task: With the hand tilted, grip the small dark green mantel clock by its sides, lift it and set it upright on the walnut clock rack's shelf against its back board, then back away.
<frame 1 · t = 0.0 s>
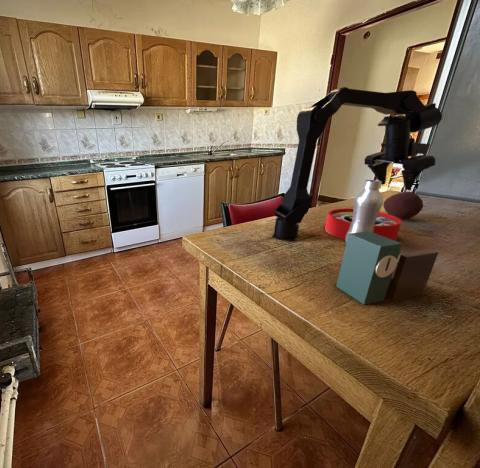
hand: (395, 186, 83), 15 cm above the table, tool pointing down, fingers open, 9 cm apart
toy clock: (358, 233, 88), on the table
silver metal bottle: (356, 248, 77), on the table
potato: (398, 219, 100), on the table
clock rack: (381, 283, 59), on the table
clock: (358, 293, 56), on the table
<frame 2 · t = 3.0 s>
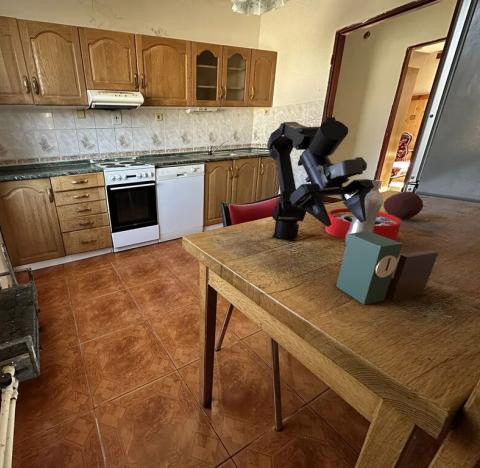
hand: (346, 223, 58), 13 cm above the table, tool tilted 45°, fingers open, 9 cm apart
nothing on the table moved.
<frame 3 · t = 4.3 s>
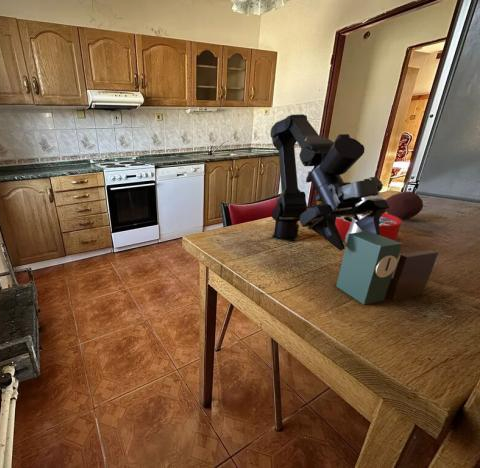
hand: (360, 247, 55), 10 cm above the table, tool tilted 45°, fingers open, 9 cm apart
nothing on the table moved.
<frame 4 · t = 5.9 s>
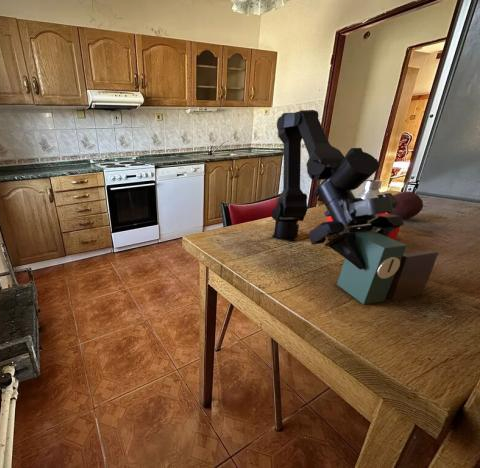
hand: (374, 267, 52), 7 cm above the table, tool tilted 45°, fingers closed on clock, 5 cm apart
clock: (359, 292, 56), on the table, touching gripper
everything else where it was.
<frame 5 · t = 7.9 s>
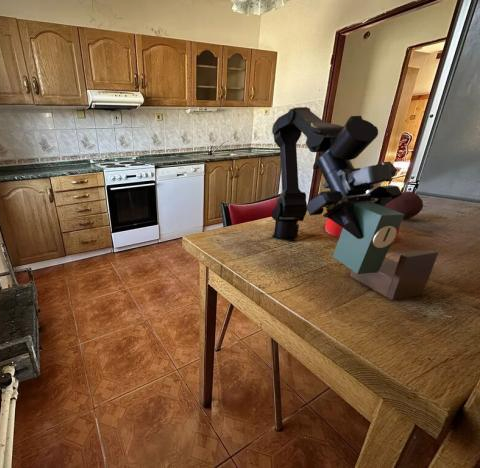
hand: (371, 236, 52), 13 cm above the table, tool tilted 45°, fingers closed on clock, 5 cm apart
clock: (354, 264, 56), point 6 cm above the table, tilted 6°, touching gripper
everything else where it was.
when the fingers open (12 cm above the table, at t = 10.2 s): clock stays where it is, resting on clock rack.
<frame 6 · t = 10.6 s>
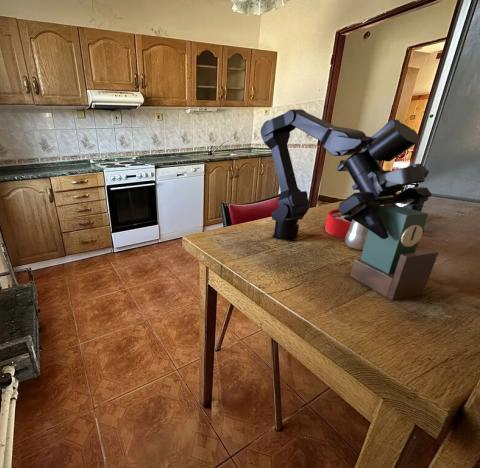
hand: (403, 235, 53), 12 cm above the table, tool tilted 45°, fingers open, 9 cm apart
clock: (383, 265, 58), point 5 cm above the table, touching clock rack
everything else where it was.
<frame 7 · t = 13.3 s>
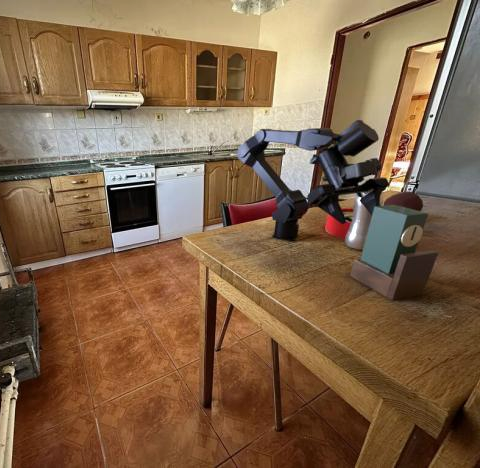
hand: (361, 221, 62), 12 cm above the table, tool tilted 45°, fingers open, 9 cm apart
nothing on the table moved.
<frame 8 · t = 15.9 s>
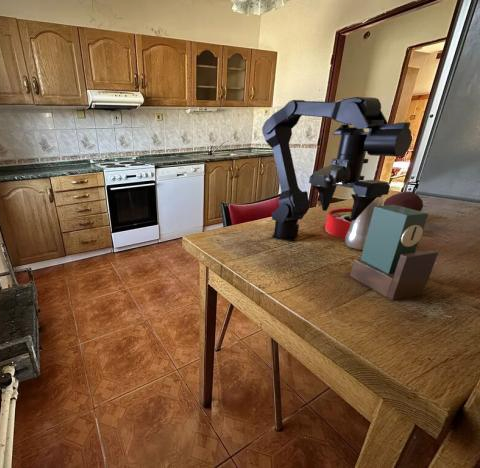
hand: (337, 215, 69), 12 cm above the table, tool pointing down, fingers open, 9 cm apart
nothing on the table moved.
at the end: clock 0.6 cm off-centre on the clock rack, point 4.5 cm above the clock rack's base; clock tilted 0°; the gripper is holding nothing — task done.
